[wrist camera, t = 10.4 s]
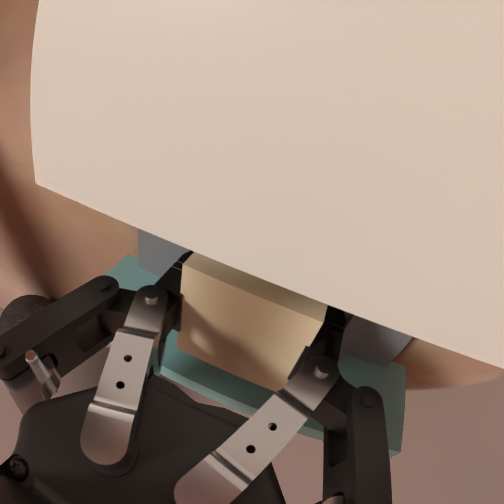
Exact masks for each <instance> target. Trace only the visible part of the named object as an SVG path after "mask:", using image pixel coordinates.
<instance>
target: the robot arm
mask: <svg viewBox="0 0 504 504" xmlns="http://www.w3.org/2000/svg"><path fill="white" fill-rule="evenodd" d="M193 253H194V251H192V250H191V251H189V252H186V253H184V254H183V255H182V256H181V257H180V258H179V259H178V260H177V262H175V263H174V264H173V265H172V267H170V268H169V269H168V270H167V271H166V272H165V274H164V275H163V276H162V277H161V278H160V279H159V280H158V281H157V282H156V283H155V284H154V285H146V286H143V287H141V288H140V289H138V291H134V290H128V289H123V288H119V283H118V281H117V280H116V279H115V278H113V277H111V276H105V275H104V276H99V277H96V278H94V279H92V280H91V281H89V282H87V283H85V284H84V285H82V286H80V287H79V288H77V289H75V290H74V291H72V292H70V293H68V294H67V295H65V296H63V297H62V298H60V299H58V300H57V301H55V302H53V303H52V304H50V305H49V306H47V307H45V308H44V309H42V310H40V311H39V312H37V313H36V314H34V315H32V316H31V317H29V318H28V319H26V320H24V321H23V322H21V323H20V324H18V325H16V326H15V327H13V328H12V329H10V330H9V331H7V332H6V333H4V334H2V335H1V336H0V381H1V382H2V384H3V385H4V386H5V387H6V388H7V390H8V391H9V392H10V394H11V396H12V398H13V399H14V401H15V403H16V404H17V406H18V408H19V409H20V411H21V412H22V414H23V417H22V420H21V423H20V427H19V434H18V439H17V443H16V447H15V449H14V451H13V453H12V455H11V456H10V457H9V459H7V460H6V461H5V462H4V463H3V464H2V465H0V504H286V502H285V499H284V497H283V494H282V491H281V489H280V486H279V483H278V480H277V477H276V474H275V472H274V468H273V466H272V463H271V461H272V460H273V459H274V457H276V455H277V454H278V453H279V452H280V451H281V450H282V449H283V448H284V446H285V445H286V444H287V443H288V442H289V441H290V440H291V438H292V437H293V436H294V435H295V434H296V433H297V431H298V430H299V429H300V428H301V427H302V425H303V424H304V423H305V422H306V421H307V419H308V418H309V417H311V418H313V419H314V420H316V421H317V422H318V423H320V424H321V425H323V426H324V462H323V463H324V464H323V500H322V501H319V502H317V503H315V504H392V490H391V473H390V460H389V449H388V439H387V430H386V421H385V413H384V405H383V400H382V397H381V395H380V394H379V392H378V391H376V390H375V389H374V388H372V387H369V386H361V387H358V388H356V387H354V386H353V385H351V384H350V383H348V382H347V381H346V380H345V379H344V378H343V377H342V376H341V374H340V372H339V368H338V359H339V354H340V349H341V344H342V338H343V333H344V328H345V322H346V317H345V314H344V311H343V310H340V309H338V308H335V307H333V306H330V305H328V306H327V310H326V314H325V318H324V322H323V324H322V326H321V328H320V329H319V331H318V333H317V335H316V336H315V338H314V340H313V341H312V343H311V345H310V346H305V348H304V350H303V351H302V353H301V355H300V357H299V358H298V360H297V362H296V364H295V365H294V367H293V369H292V371H291V372H290V374H289V376H288V378H287V379H288V380H289V382H288V383H287V384H286V385H285V386H284V387H283V388H282V389H281V390H278V391H277V392H276V393H275V394H274V395H273V396H272V397H271V398H270V399H269V400H268V401H267V402H266V403H265V404H264V405H263V406H262V407H261V408H260V409H259V410H258V411H257V412H256V413H255V414H254V415H253V416H252V417H251V418H250V419H249V418H247V417H244V416H242V415H239V414H237V413H234V412H232V411H230V410H227V409H225V408H220V407H216V406H211V405H206V404H201V403H197V402H195V401H194V400H193V399H191V398H190V397H189V396H188V395H186V394H185V393H184V392H183V391H182V390H181V389H179V388H178V387H177V386H176V385H174V384H172V383H170V382H168V381H166V380H165V379H163V378H160V371H161V366H162V362H163V357H164V353H165V348H166V344H167V339H168V334H169V333H170V332H171V330H172V329H174V330H176V331H178V332H180V331H181V315H182V299H183V294H182V293H180V291H181V279H182V267H183V264H184V262H185V261H186V260H187V259H188V258H189V257H190V256H191V255H192V254H193ZM112 341H113V342H112ZM111 342H112V345H111V348H110V351H109V354H108V357H107V360H106V363H105V366H104V369H103V372H102V375H101V378H100V381H99V385H98V386H96V387H93V388H89V389H86V390H82V391H79V392H75V393H72V394H68V395H64V396H61V397H56V398H53V399H51V397H52V395H55V394H56V393H57V391H58V388H59V386H60V383H61V378H62V377H63V376H64V375H66V374H67V373H69V372H70V371H71V370H73V369H74V368H76V367H77V366H78V365H80V364H81V363H83V362H84V361H85V360H87V359H88V358H90V357H91V356H92V355H94V354H95V353H96V352H98V351H99V350H101V349H102V348H104V347H105V346H106V345H108V344H109V343H111Z"/></svg>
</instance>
